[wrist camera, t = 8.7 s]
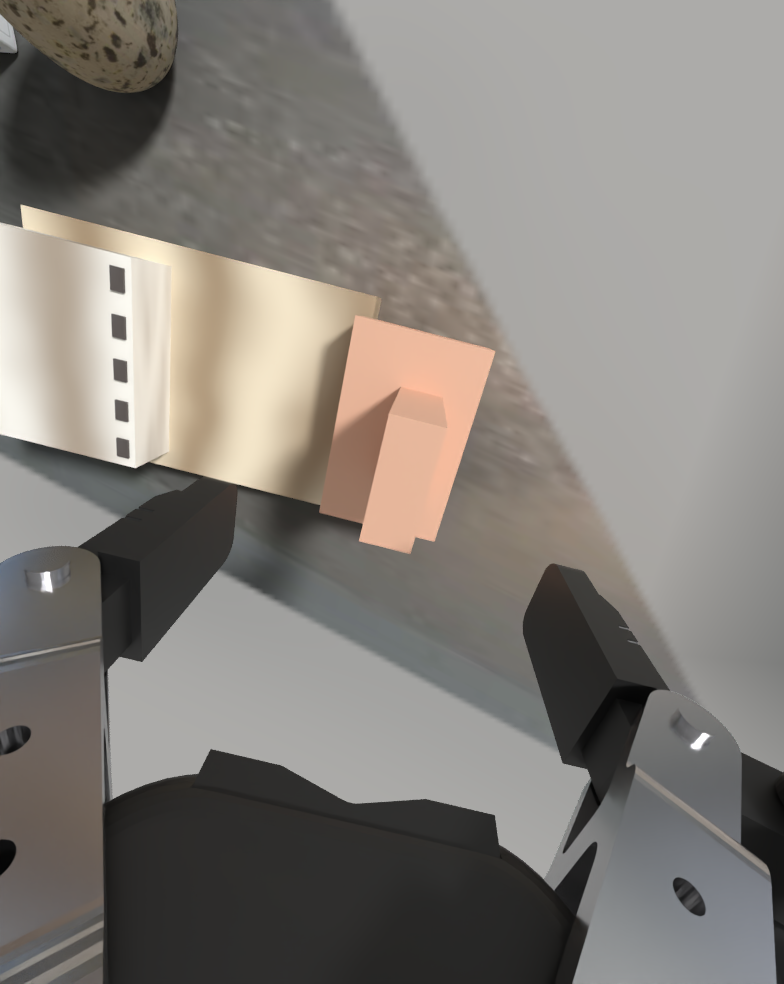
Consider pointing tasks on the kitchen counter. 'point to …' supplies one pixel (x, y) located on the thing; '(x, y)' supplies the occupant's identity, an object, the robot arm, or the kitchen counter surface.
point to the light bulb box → (7, 37)
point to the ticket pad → (170, 355)
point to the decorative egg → (101, 38)
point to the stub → (401, 430)
